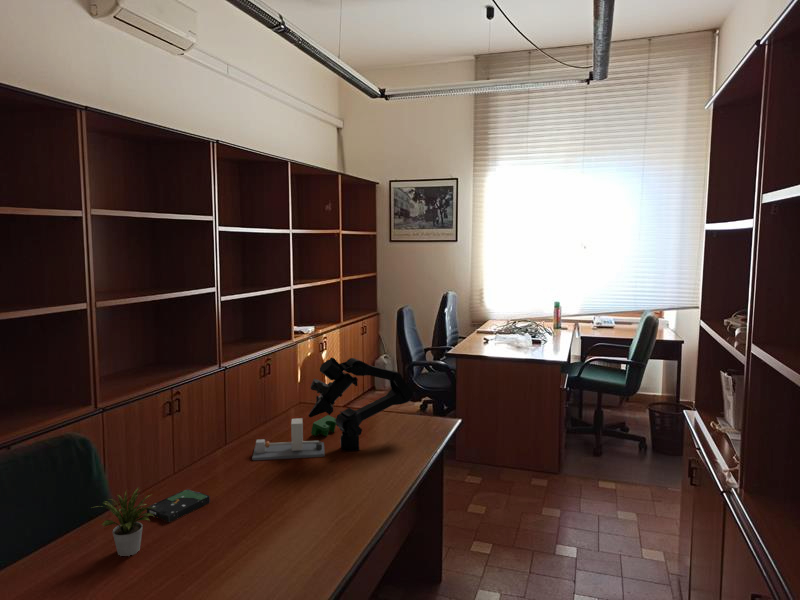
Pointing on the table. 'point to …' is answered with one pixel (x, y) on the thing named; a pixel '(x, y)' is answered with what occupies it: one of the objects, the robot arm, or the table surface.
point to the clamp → (324, 426)
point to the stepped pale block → (297, 434)
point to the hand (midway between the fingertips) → (309, 416)
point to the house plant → (128, 524)
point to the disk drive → (178, 505)
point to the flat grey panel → (287, 450)
